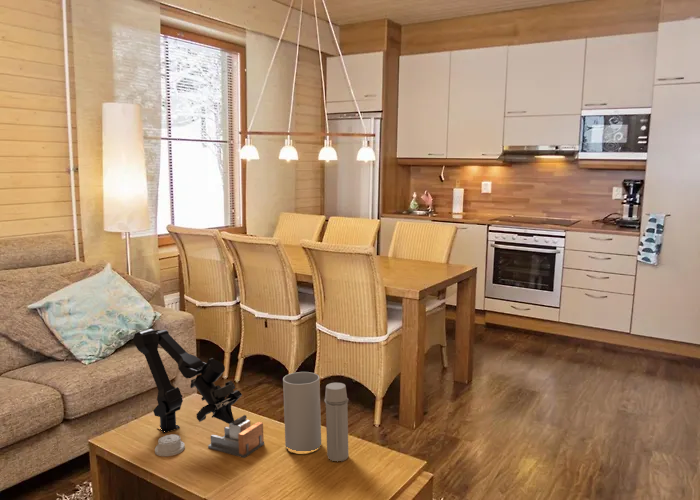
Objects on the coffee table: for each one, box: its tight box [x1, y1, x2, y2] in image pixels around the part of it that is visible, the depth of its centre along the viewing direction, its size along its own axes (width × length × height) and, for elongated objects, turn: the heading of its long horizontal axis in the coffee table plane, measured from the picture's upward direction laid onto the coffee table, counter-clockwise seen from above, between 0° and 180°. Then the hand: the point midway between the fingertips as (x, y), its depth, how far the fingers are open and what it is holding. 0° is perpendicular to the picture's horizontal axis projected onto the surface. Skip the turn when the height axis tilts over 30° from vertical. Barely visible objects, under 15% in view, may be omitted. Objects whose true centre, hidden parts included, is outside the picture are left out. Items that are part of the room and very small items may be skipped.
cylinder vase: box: [282, 371, 322, 451], centre depth 194 cm, size 12×12×25 cm
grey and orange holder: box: [207, 421, 265, 459], centre depth 197 cm, size 16×11×8 cm
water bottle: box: [324, 382, 349, 463], centre depth 185 cm, size 9×8×25 cm
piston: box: [228, 414, 252, 441], centre depth 196 cm, size 5×6×9 cm
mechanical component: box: [154, 433, 185, 457], centre depth 196 cm, size 10×4×10 cm
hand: (233, 424), depth 197 cm, fingers closed, pressing on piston
